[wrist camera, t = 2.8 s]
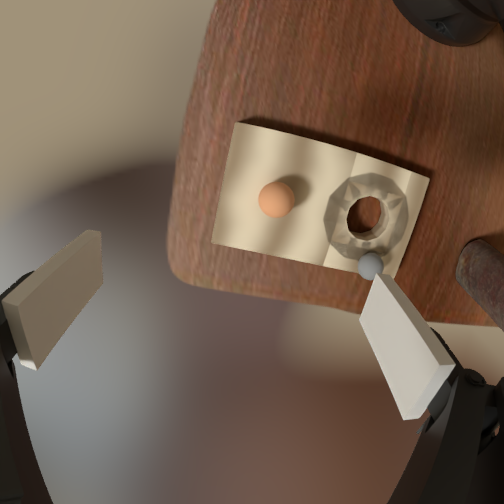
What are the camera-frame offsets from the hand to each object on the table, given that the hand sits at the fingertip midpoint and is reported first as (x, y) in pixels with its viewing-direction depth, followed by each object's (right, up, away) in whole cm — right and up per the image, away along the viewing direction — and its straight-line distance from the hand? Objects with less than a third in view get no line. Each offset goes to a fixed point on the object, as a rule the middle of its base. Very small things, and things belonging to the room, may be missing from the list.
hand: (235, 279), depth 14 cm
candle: (+32, 0, +23) cm, 40 cm away
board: (+8, +7, +20) cm, 23 cm away
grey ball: (+14, 0, +19) cm, 23 cm away
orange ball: (+3, +6, +16) cm, 17 cm away
